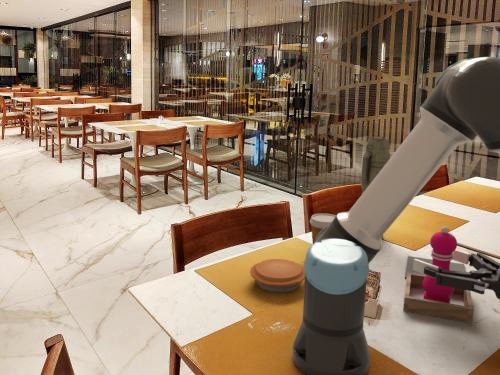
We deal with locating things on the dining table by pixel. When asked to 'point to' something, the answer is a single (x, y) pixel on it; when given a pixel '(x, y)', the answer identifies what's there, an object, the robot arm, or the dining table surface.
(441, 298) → the pepper mill
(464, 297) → the walnut tray
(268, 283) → the pie
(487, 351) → the dining table surface
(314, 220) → the disposable coffee cup
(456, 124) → the robot arm
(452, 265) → the grey square plate
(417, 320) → the dining table surface
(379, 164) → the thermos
